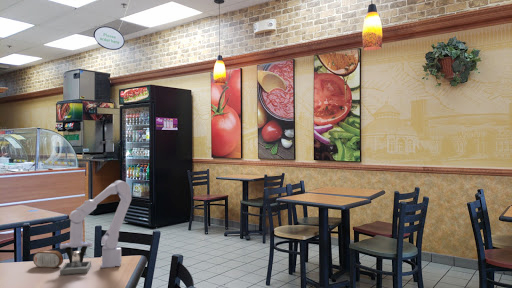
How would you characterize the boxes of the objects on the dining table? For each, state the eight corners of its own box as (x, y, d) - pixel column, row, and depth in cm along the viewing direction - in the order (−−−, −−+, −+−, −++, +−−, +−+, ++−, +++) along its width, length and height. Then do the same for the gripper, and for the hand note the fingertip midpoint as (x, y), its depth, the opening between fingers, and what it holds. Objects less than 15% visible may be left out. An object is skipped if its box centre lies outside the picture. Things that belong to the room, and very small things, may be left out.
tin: (63, 266, 197) (63, 250, 197) (59, 268, 193) (60, 252, 193) (36, 265, 198) (36, 249, 198) (31, 267, 195) (32, 251, 195)
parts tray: (91, 265, 198) (91, 261, 198) (87, 273, 186) (87, 268, 186) (65, 267, 195) (65, 262, 195) (60, 275, 183) (60, 270, 183)
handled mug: (82, 264, 193) (82, 250, 193) (79, 268, 188) (79, 253, 188) (72, 265, 192) (72, 251, 192) (69, 268, 187) (69, 254, 187)
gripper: (58, 237, 185) (58, 265, 185) (90, 235, 189) (90, 263, 189) (62, 234, 192) (61, 261, 192) (93, 232, 196) (92, 259, 196)
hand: (76, 262), depth 191 cm, fingers closed on handled mug, 4 cm apart
